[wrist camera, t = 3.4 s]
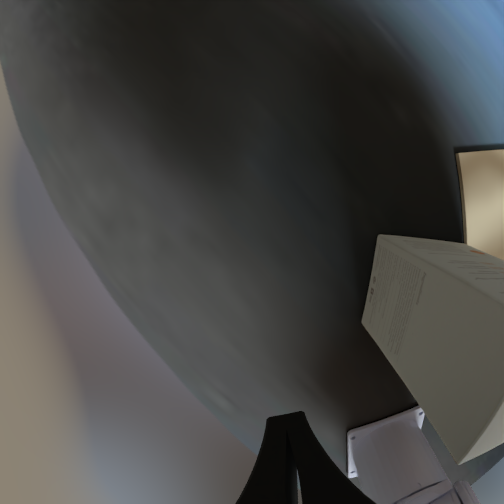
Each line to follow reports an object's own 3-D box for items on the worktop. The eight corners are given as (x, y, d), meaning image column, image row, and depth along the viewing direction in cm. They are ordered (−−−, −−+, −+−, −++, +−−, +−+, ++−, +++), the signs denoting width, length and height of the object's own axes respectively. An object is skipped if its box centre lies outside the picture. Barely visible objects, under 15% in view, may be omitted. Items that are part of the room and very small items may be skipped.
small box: (358, 323, 19) (453, 470, 6) (375, 232, 17) (538, 322, 5) (445, 320, 19) (548, 416, 6) (464, 242, 18) (600, 305, 5)
